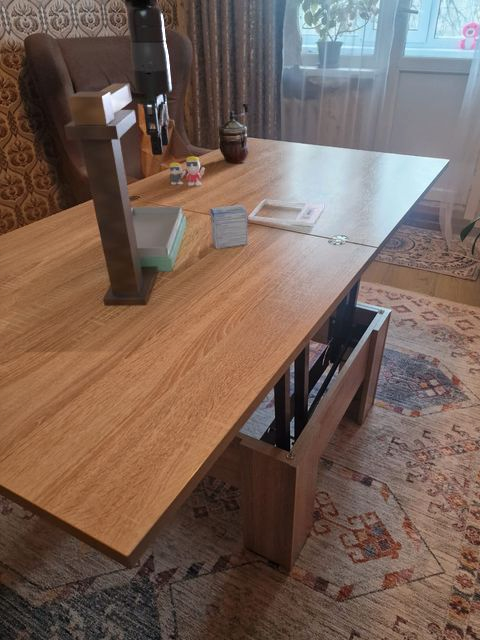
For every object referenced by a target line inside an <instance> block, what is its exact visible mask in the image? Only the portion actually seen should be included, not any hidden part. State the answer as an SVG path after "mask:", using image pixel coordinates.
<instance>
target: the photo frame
mask: <svg viewBox="0 0 480 640" xmlns="http://www.w3.org/2000/svg"><path fill="white" fill-rule="evenodd" d="M266 204H267V205H269V204H270V205H280V206H289V207H290V206H291V207H298V208H302V209H301V210H300V212H299V213H298V215H297V216H296V218H295V219H294V220H293V219H286V218H285V219H284V218H276V217H268V216H267V217H266V216H257V215H256V214H258V212H259V211H260V210H261V209H262V208H263V207H264V206H265V205H266ZM325 209H326V205H325V204H317V203H307V202H296V201H288V200H287V201H285V200H277V199H268V198H267V199H266V198H263V200H262V201H261V202H260V203H259V204H258V205H257V206H256V207H255V208H254V209H253V210H252V212H250V213H249V214H248V215H247V221H256V222H265V223H274V224H284V225H293V226H303V227H311V228H314V227H315V225H316V224H317V222H318V220H319V219H320V217H321V215H322V214H323V212H324V211H325Z"/></svg>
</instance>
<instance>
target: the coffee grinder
mask: <svg viewBox="0 0 480 640" xmlns="http://www.w3.org/2000/svg"><path fill="white" fill-rule="evenodd" d="M242 107H244V111H243V112H241V113H239V114H234V113H235V111H232V110H231V111H229V113H230V115H229V120H228V121H226V122H225V123H224V124H222V125H219V126H218V136H219V152H220V153H221V155H222V157H223V158H224V160H225V162H227V163H232V164H241V163H245V162H246V159H247V158H248V155H249V152H250V150H249V142H248V131H247V129H248V127H247V126H246V125H244V124H241V123H240V122H238V121H237V120H235V119H236V118H238V117H241V116H243V115H245V114H249V107H250V103H242Z"/></svg>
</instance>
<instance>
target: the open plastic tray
mask: <svg viewBox="0 0 480 640" xmlns="http://www.w3.org/2000/svg"><path fill="white" fill-rule="evenodd" d="M131 211H132V217H133V223H134V229H135V235H136V241H137V247H138V253H139V259H140V265H141V267H149V266H157V270H158V272H173V270H174V267H175V263H176V259H177V257H178V255H179V254H178V253H179V250H180V247H181V244H182V241H183V238H184V234H185V231H186V229H187V218H186V217H187V216H186V214H185V213H184V212H183V206H131ZM104 260H105V259H104ZM105 262H106V260H105ZM105 265H106V264H105ZM106 267H107V265H106ZM106 270H107V269H106ZM107 272H108V270H107Z"/></svg>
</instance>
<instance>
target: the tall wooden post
mask: <svg viewBox="0 0 480 640" xmlns="http://www.w3.org/2000/svg"><path fill="white" fill-rule="evenodd" d="M136 123H137V119H136V111H135V109H121V110H119V111H118V112H117V113H115V114H114V120H112V121H111V122H110V123H109V124H107V125H75V124H74V119H73V120H72V121H70V122H68V123H67V124H66V125H65V124H64V127H63V128H64V131H65V135H66V140H67V141H79V142H80V146H81V151H82V155H83V161H84V166H85V170H86V174H87V179H88V184H89V189H90V194H91V198H92V204H93V209H94V213H95V218H96V222H97V226H98V231H99V236H100V241H101V245H102V246H101V247H102V250H103V255H104V260H106V261H105V265H107V266H106V270H108V271H107V274H108V279H109V284H110V285H109V287H108V289H107V291H106V293H105V295H104V296H103V299H102V300H103V304H104V306H106V307H107V306H147V303H148V300H149V298H150V296H151V292H152V290H153V287H154V284H155V281H156V279H157V276H158V273H159V271H158V270H157V266H149V267H141V265H140V259H139V253H138V247H137V241H136V235H135V229H134V223H133V217H132V211H131V208H132V206H131V199H130V195H129V194H130V193H129V187H128V182H127V181H128V180H127V175H126V169H125V164H124V158H123V152H122V146H121V140H120V138H122V137H123V136H124V135H125V133H126V132H127V131H128V130H129V129H131V128H132V127H133V126H134V125H135V124H136Z"/></svg>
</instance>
